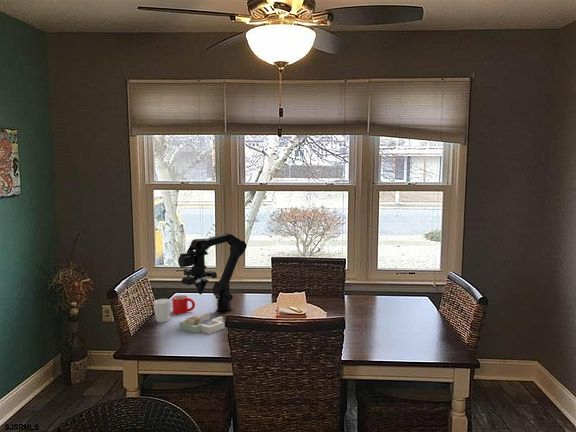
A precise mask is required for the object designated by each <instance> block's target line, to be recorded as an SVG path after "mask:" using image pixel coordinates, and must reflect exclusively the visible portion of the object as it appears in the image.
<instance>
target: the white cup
mask: <svg viewBox="0 0 576 432" xmlns="http://www.w3.org/2000/svg"><path fill="white" fill-rule="evenodd" d="M153 305H154V313H155V320H156V321H155V322H157V323H167V322H169V321H170V320H171V300H170V299H169V298H159V299H156V300H154V301H153Z"/></svg>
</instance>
